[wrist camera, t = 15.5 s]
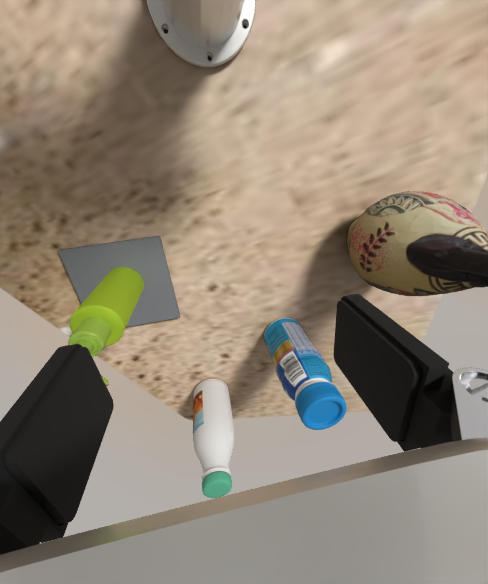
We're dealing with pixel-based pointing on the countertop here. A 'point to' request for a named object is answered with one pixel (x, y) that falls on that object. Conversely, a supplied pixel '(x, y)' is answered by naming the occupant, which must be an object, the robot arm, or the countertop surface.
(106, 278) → the soap dispenser
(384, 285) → the ceramic jug
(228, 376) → the countertop surface
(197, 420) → the milk bottle
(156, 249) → the charcoal mat
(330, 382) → the beverage bottle
